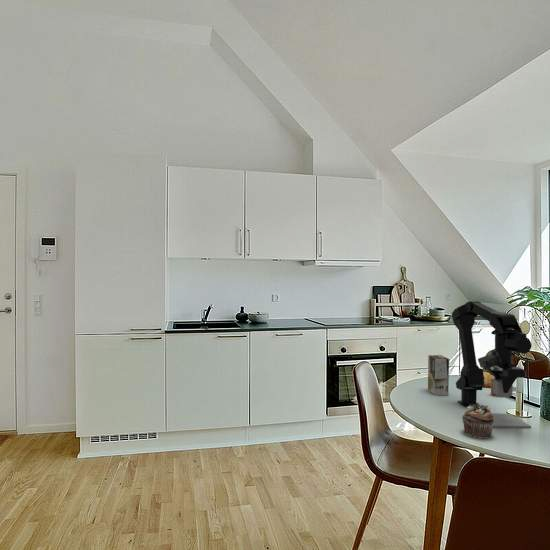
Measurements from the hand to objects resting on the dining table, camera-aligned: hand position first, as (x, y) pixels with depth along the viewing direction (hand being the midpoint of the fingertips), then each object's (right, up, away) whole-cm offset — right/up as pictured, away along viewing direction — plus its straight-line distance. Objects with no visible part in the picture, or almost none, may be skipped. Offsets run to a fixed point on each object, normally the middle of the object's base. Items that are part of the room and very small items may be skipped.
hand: (502, 391), depth 156 cm
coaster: (0, -11, 0) cm, 11 cm away
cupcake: (-15, -11, -12) cm, 22 cm away
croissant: (+19, -11, +51) cm, 55 cm away
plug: (0, -1, 0) cm, 1 cm away
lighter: (+17, -11, +33) cm, 39 cm away
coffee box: (-9, -11, +37) cm, 40 cm away
